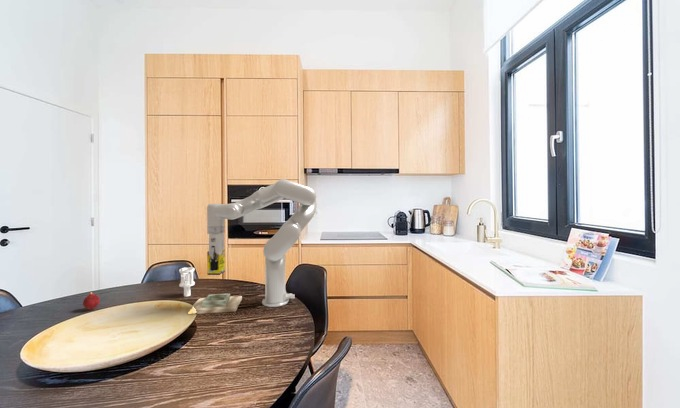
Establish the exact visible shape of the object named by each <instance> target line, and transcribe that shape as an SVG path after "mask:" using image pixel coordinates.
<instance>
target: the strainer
mask: <svg viewBox="0 0 680 408" xmlns="http://www.w3.org/2000/svg"><path fill="white" fill-rule="evenodd" d="M178 272H179V274H180V283H179V285H178V286H179V287H180V288H183V297H186V298H187V297H190V296H191V295H192V294H191V287H192V286H195V284H196V282H195V281H194V272H195V267H182V268H180V269H179V270H178Z"/></svg>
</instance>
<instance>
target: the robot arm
mask: <svg viewBox="0 0 680 408" xmlns="http://www.w3.org/2000/svg"><path fill="white" fill-rule="evenodd" d="M283 199H285V200H287V201H291V202H294V203H298V204H299V206H298V207H297V209H296V210H295V211H294V213H293V214H292V215H291V216H290V217H289V218H288V219H287V221H285V222H284V223H283V224H282V225H281V226H280V228H279V229H278V230H277V231H276V233H275V234H274V235H273V236H272V237H271V238H269V239H268V240H267V241H266V242H265V244H264V247H263V255H264V257H265V261H264V263H265V266H264V267H265V268H264V275H265V276H264V279H265V280H264V281H265V283H264V284H265V289H264V291H265V293H264V294H265V298H263V299H262V301H261V304H262V306H264V307H269V308H276V307H283V306H285V305H287V304H288V303H289V301H290V300H289V299H295V298H296V297H295V293H294V294H293V293H288V292H287V290H286V254H287V253H288V252H289V250H290V249H291V248H292V247H293V246H294V245H295V244H296V243H297V242H298V240H299V239H300V236H301V234H302V233H301V232H302V231H303V230H304V229H305V228H306V226H307V225H308V224H309V223H310V222H311V220H312V219H313V218H314V216H315V213H316V211H317V194H316V192H315V190H314V188H311V187H309V186H306V185H304V184H300V183H297V182H294V181H291V180H289V179H284V178H281V179H279V180H277V181H276V182H275V183H272V184H270V185H268V186H264V187H263V188H259V189H258V190H256V191H255V192H253V193H251V195H250V196H247V197H245V198H243V199H241V200H238V201H236V202H234V203H225V204H222V203H210V204H208V205H207V207H206V220H207V221H206V224H207V225H206V229H207V235H208V236H209V237H208V251H209V255H210V270H218V261H217V258H218V254H219V255H221V254H222V251H223V250H225V251H226V249H225V236H224V235H225V231H226V228H225V227H226V222H225V221H226V220H236V219H240V218H241V217H243V216H246V215H248V214H250V213H253V212H254V211H257V210H260V209H263V208H265V207H268V206H271V205H272V204H274V203H277V202H279V201H281V200H283ZM210 252H211V253H210ZM214 253H216V254H214ZM215 256H216V258H215Z"/></svg>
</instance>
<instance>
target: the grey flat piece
mask: <svg viewBox="0 0 680 408" xmlns="http://www.w3.org/2000/svg"><path fill="white" fill-rule="evenodd" d="M242 299H243V296H242V295H234V296H232V295H231V293H218V294H217V293H215V294H208V295H206V297H200V298H198V299H197V300H196V301H195V302H194V303H193V305H192V306H194V308H195V309H196V311H197V314H196V315H198V314H199V315H202V314H213V313H215V314H216V313H229V312H230V313H231V312H237V310H238V307H239V306H240V304H241V302H242Z"/></svg>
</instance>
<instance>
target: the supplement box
mask: <svg viewBox="0 0 680 408" xmlns="http://www.w3.org/2000/svg"><path fill="white" fill-rule="evenodd" d="M206 252H207V253H206V257H207V259H206V261H207V263H206V265H207V270H206V272H207V273H206V274H207V276H220V275H221V274H224V273H225V272H226V258H225V257H226V255H225V254H226V249H225V250H223V251H222V254H221V255H219V254H218V258H217V261H218V270H210V255H209V250H208V251H206ZM210 253H211V252H210ZM214 254H216V253H214ZM215 258H216V256H215Z"/></svg>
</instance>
